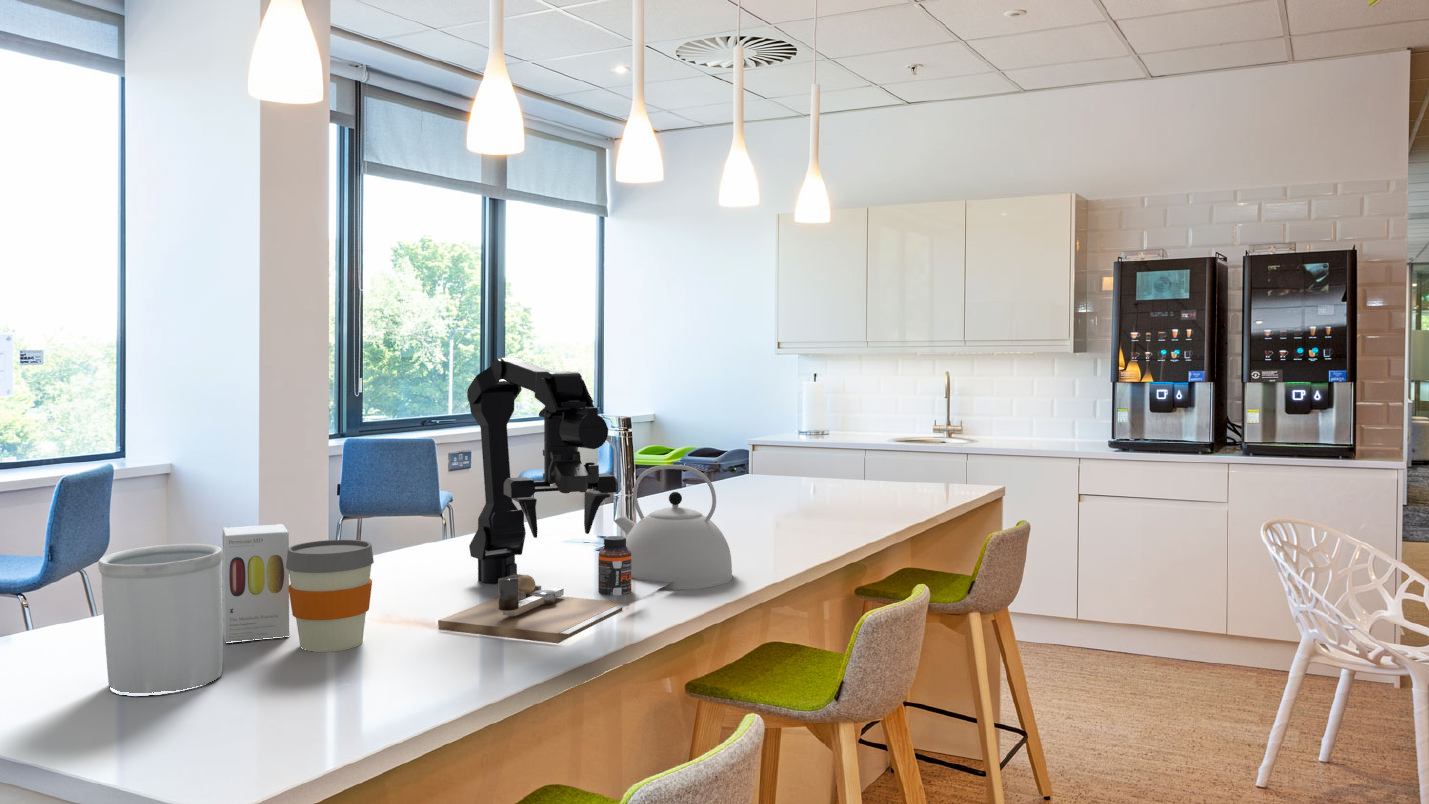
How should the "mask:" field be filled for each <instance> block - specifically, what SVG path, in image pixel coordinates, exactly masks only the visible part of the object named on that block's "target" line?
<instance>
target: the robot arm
mask: <svg viewBox="0 0 1429 804" xmlns="http://www.w3.org/2000/svg"><path fill="white" fill-rule="evenodd" d="M522 388H524V389H526V390H529V391H531V392H533V394H534V399H536V400H537V401H538V402H540V403H541V404H542V405H544V407H543V408H542V409H541V410H540V411H539V413H538V417H540V418H543V419H544V420H543V425H544V427H543V430H544V431H543V432H544V433H543V434H544V435H543V436H544V437H543V438H544V440H543V443H544V445H543V450H542V456H543V457H544V460H543V461H544V467H543V469H544V471H543V473H542V479H543V480H536V481H535V480H534V479H532V478H529V477H527V476H523V477H521V476H520V477H511V465H510V452H509V451H510V450H509V436H508V423H509V421H510V419H511V418H512V416H513V414H514V412H515V401H516V399H517V397H518V396H519V395H520V394H521V392H522ZM466 393H467V394H466V395H467V396H466V398H467V401H468V404H469V408H470V410H469V411H470V414H471V415H472V417H473V418H474V420H475V421H476V423H477V424H478V425H479V426H480V428H479V429H480V436H481V437H480V438H481V452H482V453H481V454H482V455H481V456H482V466H483V480H484V481H483V483H484V484H483V485H484V495H485V496H484V497H485V504H484V507H483V508H482V510H481V512H480V515H479V516H478V519H477V530H476V531H475V534H474V535H473V538H472V539H471V541H470V543H469V546H468V547H469V554H470V557H471V558H475V559H477V582H481V583H483V584H486V585H487V584H488V585H498V579H499V578H502V577H508V576H511V575H513V574H518V564H517V563H516V556H521V555H522V554H523V550H524V546H525V545H524V544H525V539H526V535H527V534H526V527H525V519H526V521H527V524H528V526H529V530H530V532H531V534H532V537H533V538H535V539H537V538H538V520H537V508H536V507H537V502H538V501H537V498H535V497H534V494H535V493H540V492H541V493H544V492H560V493H562V494H570V493H576V492H577V493H584V502H583V503H584V514H583V515H584V516H583V517H584V518H583V520H584V521H583V524H584V526H583V528H584V533H585V534H586V535H589V534H590V532H591V530H592V527H593V523H594V521H595V517H596V515H597V513H598V510H599V508H600V506H601V504H602V502H604V500H605V499H607V498H610V497H611V493H618V492H619V482H618V479H617V478H616V476H615V475H613V474H609V473H604V472H603V473H602V472H601V473H600V468H599V467H600V466H599V464H598V462H597V461H587V462H585V463H582V461H581V451H579V448H581V449H589V450H595V449H599V448H600V447H602V446H604V444H605V442H606V441H607V439H608V436H609V427H608V425H607V423H606V421H605V419H604V418H603V416H600V415H599V409H598V407H595V405H594V400H593V398H592V397H591V395H590V393H589V390H588V387H587V385H586V382H585V380H584V379H583V377H582V375H581V373H580V372H579V371H572V370H570V371H569V370H549V369H546V368H544V367H540V366H539V365H535V364H533V363H529V362H527V361H524V360H523V359H521V358H519V357H499V358H498V359H497V358H496V359H495V360H494V361H493V362H492V364H491V365H490V366H488V367H487V368H486V369H484V370H482V371H481V372H480V373H478V374H476V375H475V377H474V379H472V381H471V383H470V384H469V385H468V388H467V392H466ZM513 501H515V502H517V503H518V504H519V506H520V508H521V509H519V508H518V507H517V506H516V504H515V503H514V502H513Z"/></svg>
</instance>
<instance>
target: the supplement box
mask: <svg viewBox="0 0 1429 804" xmlns="http://www.w3.org/2000/svg"><path fill="white" fill-rule="evenodd" d="M289 535H290V534H289V531H288V530H287V528H286V526H285V525H284V523H276V524H264V525H263V524H261V525H248V526H247V525H246V526H232V527H231V526H226V527H222V560H221V561H222V563H221V564H222V565H221V589H222V623H223V641H224V643H225V642H231V641H242V640H253V639H254V640H255V639H263V638H273V637H283V636H284V637H285V636H289V635H290V595H289V589H288V586H289V585H290V576H289V570H288V569H287V568H286V563H287V553H288V548H289V546H290V543H289V542H290V541H289V540H290V539H289ZM289 637H290V636H289Z"/></svg>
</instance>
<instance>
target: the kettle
mask: <svg viewBox="0 0 1429 804" xmlns="http://www.w3.org/2000/svg"><path fill="white" fill-rule="evenodd" d="M660 470H684V471H689V472H691V473H694V474H695V475H697V476H699V477H700V478H702V480H704V482H705V483H706V484H707V486H708V488H709V491H710V493H711V499H712V502H711V508H710V510H709V512H708V514H707V516H705V515H704V514H703V513H701V512H700V511H697V510H695V509H691V508H688V507H682V506H679V504H681V503H682V501H683V497H682V494H681V493H680V492H679V491H673V492H671V493H669V495H668V501H669V503H670V504H671V506H670V507H665V508H660V509H657V510H653V511H652V512H650V513H649V514H647V515H646V516H644V514H643V511H642V509H641V507H640V504H639V501H638V489H639V488H638V487H639V484H640V482H641V481H642V479H643V478H644V477H645V476H647V475H648V474H650V473H652V472H656V471H660ZM632 498H633V499H632V500H633V503H634V504H633V505H634V507H635V510H636V512H637V515H638V516H639V518H640V520H639V521H638V522H634V521H633V520H631V519H630V518H629V517H626V516H625V515H622V516H620V517H617V518H616V519H614V520H613V522H614V523H615V524H616V525H617V527H619V528H620V529H621V530H622V531H623V532H624V533H625V535H626V547H627V548H628V549H629V550H630V551H631V579H635V580H636V579H637V580H640V581H650V582H652V581H653V582H666V583H667V582H670V583H668V584H666V585H664V586H662V587H660V588H659V590H663V591H664V590H665V591H666V590H672V591H673V590H674V591H675V590H678V591H679V590H680V591H681V590H694V589H705V588H711V587H716V586H721V585H724V584H726V583H729V582H730V581H731V580H732V579H733V569H732V567H733V566H732V564H733V563H732V556H731V551H730V550H731V549H730V547H729V544H728V541H727V539H726V537H725V535H724V534H723V532H722V531H721V529H720V528H719V527H718V526H717V525H716V523H714V521H712V520H711V518H712V517H713V515H714V513H715V511H716V507H717V495H716V491H715V488H714V484H713V483H712V482H711V480H710V479H709V477H708V476H706V474H704V473H703V472H702V471H700V470H699V469H697V468H695V467H692V466H687V465H683V464H682V465H681V464H661V465H657V466H656V465H655V466H652V467H650V468H647V469H646V470H644V471H643V472H641V474H639V475H638V477H637V478H636V481H635V482H634V485H633V490H632ZM720 584H721V585H720Z"/></svg>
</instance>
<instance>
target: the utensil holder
mask: <svg viewBox="0 0 1429 804" xmlns="http://www.w3.org/2000/svg"><path fill="white" fill-rule="evenodd" d="M222 554H223V548H221V547H220V546H218V545H214V544H207V543H174V544H160V545H150V546H149V545H148V546H143V547H137V548H131V549H130V548H129V549H125V550H120V551H116V552H113V553H110V554H106V555H103V556H102V557H101V558H99V559H98V564H97V565H98V566H97V567H98V570H99V572H100V576H101V595H102V610H103V611H102V612H103V623H104V624H103V625H104V645H105V655H106V656H105V658H106V670H107V680H108V681H107V682H108V687H109V686H110V687H111V688H113V689H115V690H117V691H120V692H129V693H152V692H153V693H154V692H161V691H176V690H183V689H187V688H192V687H196V686H200V685H204V686H206V685H205V684H207V683H209V682H211V683H213V682H215V681H217V680H218V679H219V678H220V677H221V676H222V674H223V666H224V663H223V651H224V647H223V644H224V642H223V641H224V636H223V623H222V565H221V564H222V563H221V561H222ZM218 677H219V678H218ZM217 678H218V679H217ZM216 679H217V680H216ZM214 680H215V681H214ZM212 681H213V682H212ZM209 684H210V683H209ZM207 685H208V684H207Z"/></svg>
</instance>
